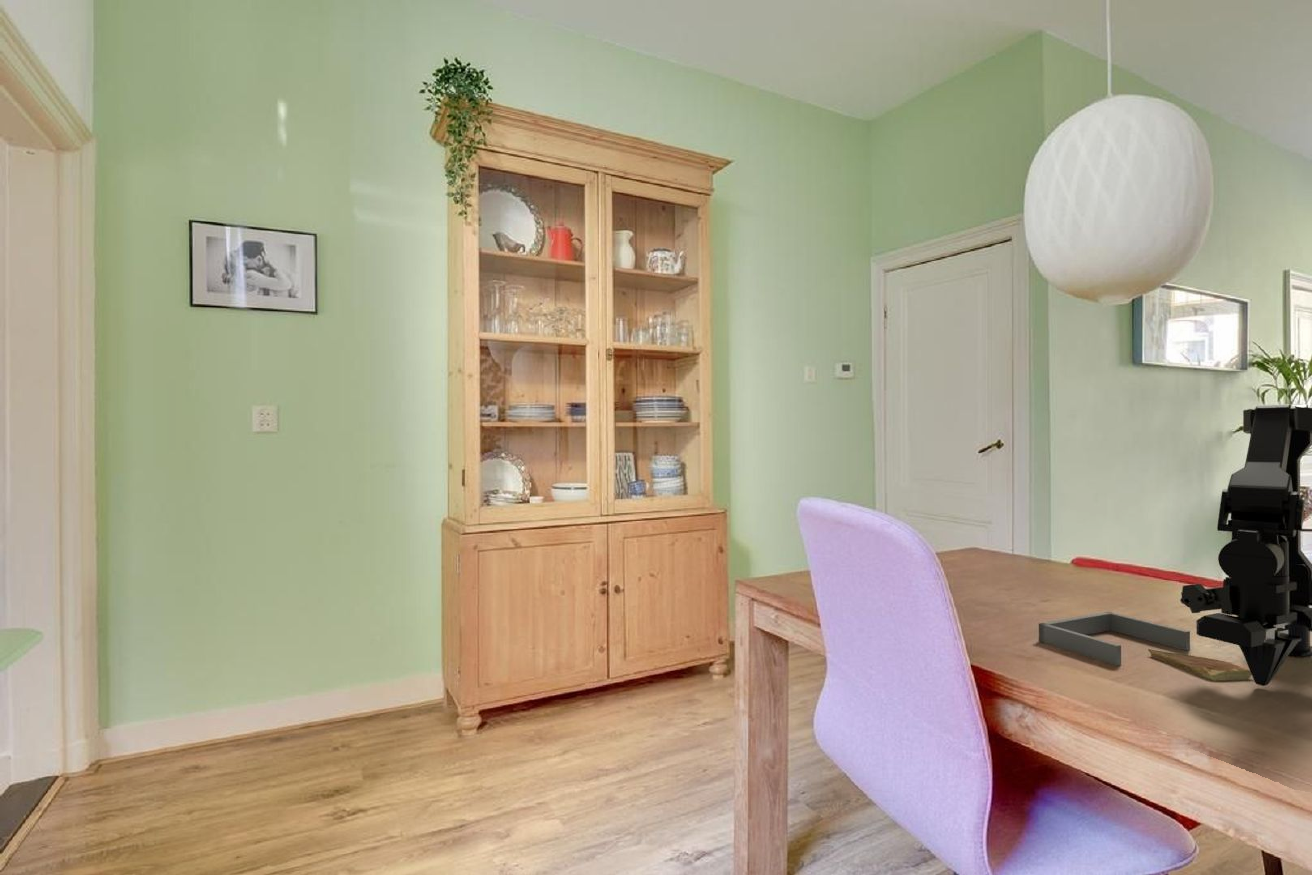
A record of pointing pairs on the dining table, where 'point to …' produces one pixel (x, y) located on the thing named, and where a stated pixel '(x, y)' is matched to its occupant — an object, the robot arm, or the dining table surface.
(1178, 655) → the shard
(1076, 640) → the box
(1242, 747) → the dining table surface
